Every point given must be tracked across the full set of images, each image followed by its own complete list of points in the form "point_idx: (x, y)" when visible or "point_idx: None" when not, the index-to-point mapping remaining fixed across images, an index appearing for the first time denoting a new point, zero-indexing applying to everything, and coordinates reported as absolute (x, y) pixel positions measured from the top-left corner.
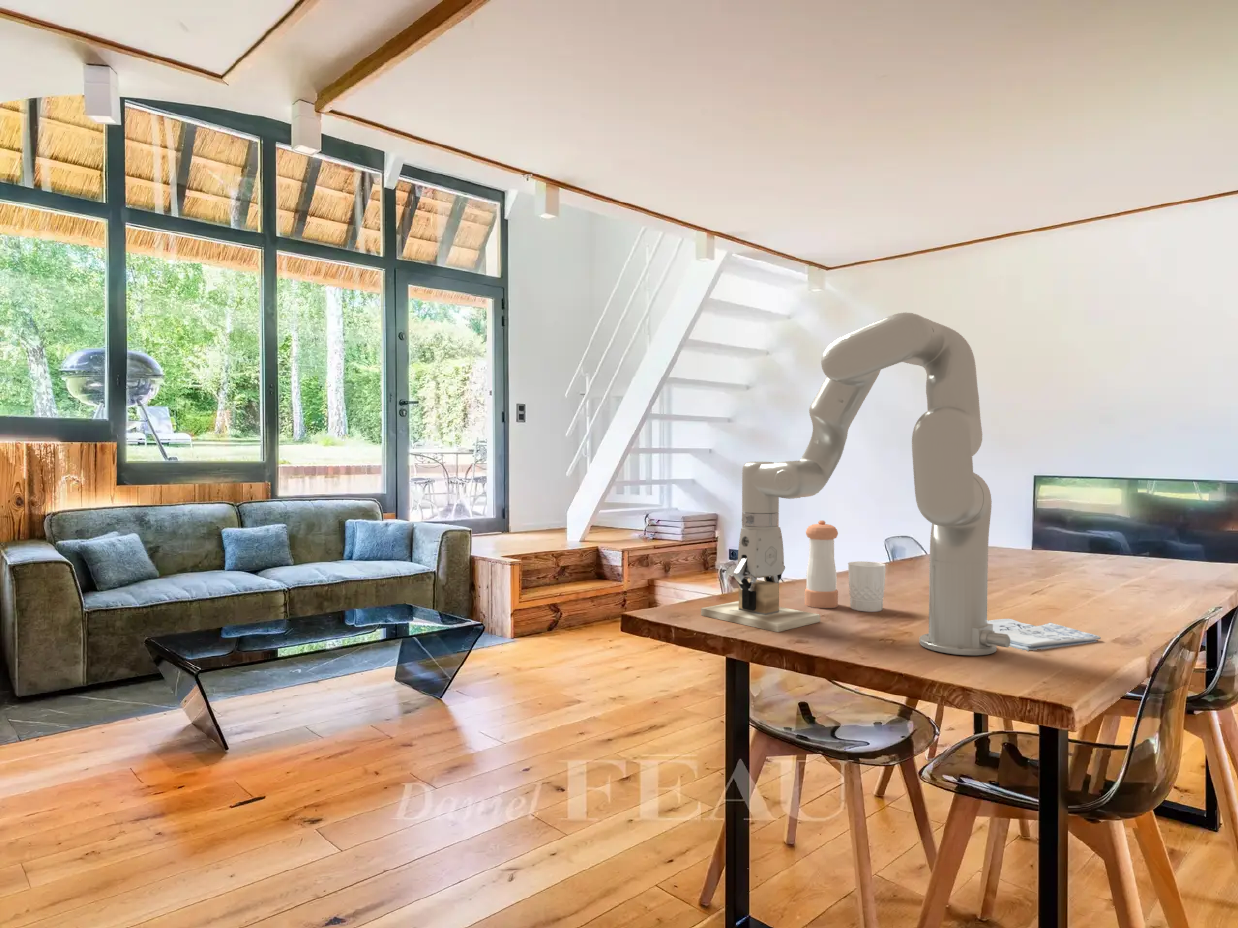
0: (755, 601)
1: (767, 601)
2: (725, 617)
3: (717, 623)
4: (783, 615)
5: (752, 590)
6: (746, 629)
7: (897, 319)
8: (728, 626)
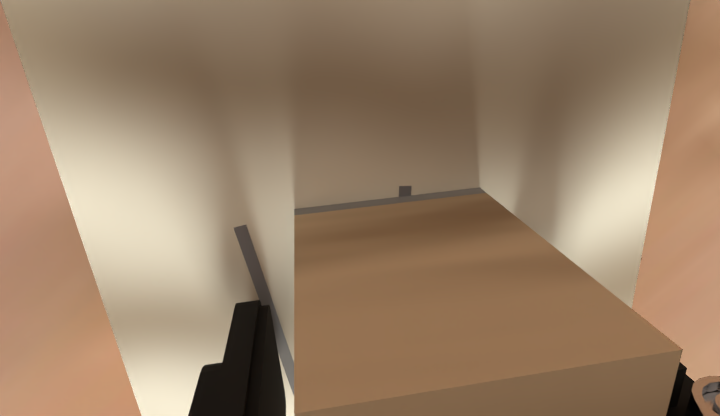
0: None
1: (498, 238)
2: None
3: (675, 307)
4: (364, 90)
5: (701, 388)
6: (714, 95)
7: None
8: (705, 221)
